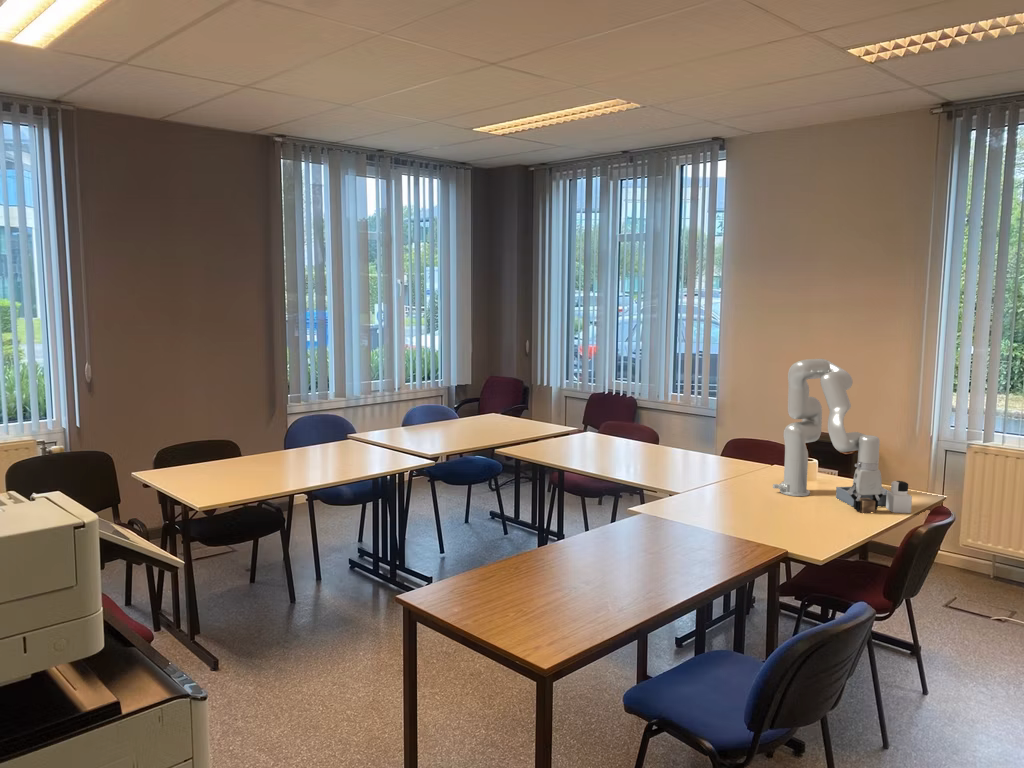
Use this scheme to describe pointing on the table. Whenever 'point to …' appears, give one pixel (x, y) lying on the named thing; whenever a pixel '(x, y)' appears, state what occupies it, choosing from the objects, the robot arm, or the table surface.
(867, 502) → the walnut cube
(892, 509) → the medicine bottle
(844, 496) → the tote
